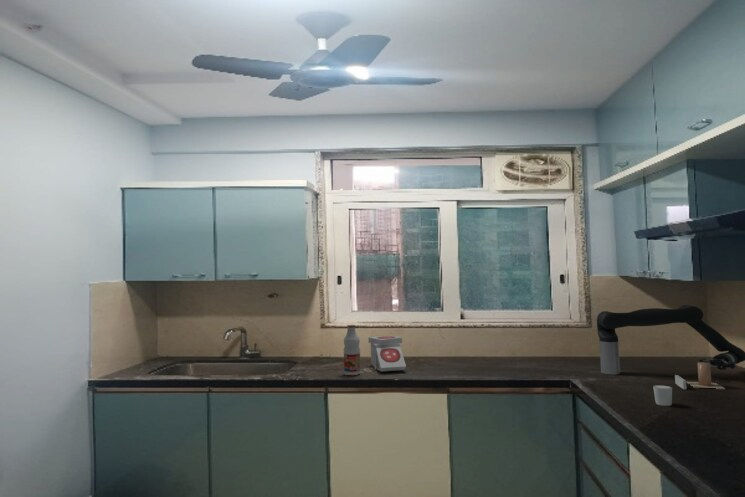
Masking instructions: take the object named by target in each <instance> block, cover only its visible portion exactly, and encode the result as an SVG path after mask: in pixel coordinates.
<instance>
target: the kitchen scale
mask: <svg viewBox="0 0 745 497" xmlns="http://www.w3.org/2000/svg"><path fill="white" fill-rule="evenodd" d="M368 343H369V344H370V364H371V363H372V364H373V365H374V366H375V367H376V368H379V369H380V370H379V372H391V371H395V372H396V371H405V370H406V367H407V364H406V361H405V359H404V355H403V351H402V348H401V345H400V344H402V343H403V338H402V336H401V337H400V336H395V335H389V334H388V335H381V336H380V335H378V336H372V337H371V336H370V337H368Z"/></svg>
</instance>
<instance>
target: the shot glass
mask: <svg viewBox="0 0 745 497" xmlns="http://www.w3.org/2000/svg"><path fill="white" fill-rule="evenodd" d="M652 388H653V394H654V400H655V404H656V405H659V406H664V407H665V406H666V407H669V406H672V404H673V403H672V402H673V387H672V386H668V385H663V384H662V385H660V384H659V385H658V384H657V385H653V387H652Z"/></svg>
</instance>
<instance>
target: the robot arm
mask: <svg viewBox="0 0 745 497" xmlns="http://www.w3.org/2000/svg"><path fill="white" fill-rule="evenodd" d="M703 318H704V312H703V310H702V309H701V308H700V307H697V306H696V305H689V304H685V305H684V304H683V305H681V306H679V307H678V308H661V307H660V308H654V307H653V308H651V307H650V308H643V309H636V310H633V311H629V312H611V311H607V310H604V311H601V312H599V313H598V315H597V317H596V327H597V336H598V340H599V355H600V356H599V357H600V372H601V374H604V375H611V376H612V375H613V376H614V375H615V376H616V375H620V374H621V368H620V367H621V366H620V349H619V347H620V346H619V336H618V334H617V333H616V329H620V328H624V327H653V326H654V327H655V326H661V325H663V326H664V325H669V324H670V325H671V324H686V325H688V326H690V327H691V328H692V329H694V331H696V332H697V333H698V334H700V335H701V336H702V337H703V339H705V340H706V341H707V342H708V343H709V344H711V346H712V347H713V348H714V349H715V350H717V351H718V352H720V353H717V354H715V355H714V356H713V357H712V358H710V359H707V358H702V359H699V361H698V362H705V363H710V368H711V367H715V368H716V369H718V370H721V371H725V370H727V369H731V370H732V369H734V370H735V368H737V365H738V364H740V363H742V362H744V361H745V350H743V349H742V348H740V347H738V346H737V345H735V344H733V343H732V342H730V341H729V340H727V339H726V337H724V336H723V335H722V334H721V333H720V332H719V331H718V330H716V329H714V328H713V327H712V326H710V325H709V324H707V323H706V322H705V321H704V320H703Z"/></svg>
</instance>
